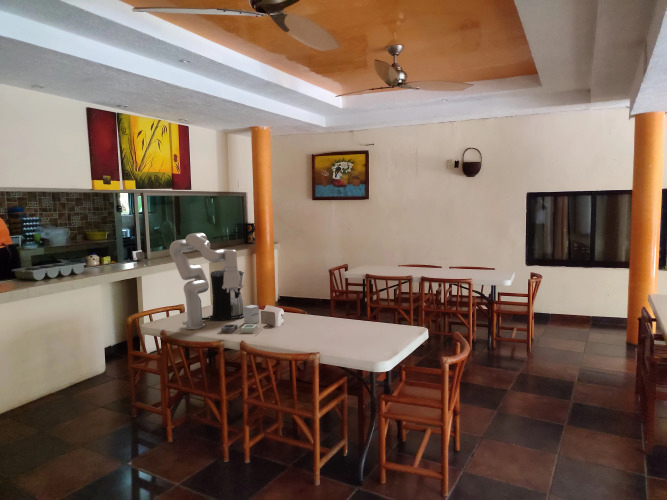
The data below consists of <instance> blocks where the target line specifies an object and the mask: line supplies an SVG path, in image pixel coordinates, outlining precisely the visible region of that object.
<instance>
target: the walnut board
mask: <svg viewBox="0 0 667 500" xmlns="http://www.w3.org/2000/svg"><path fill="white" fill-rule="evenodd" d="M241 328H242V327H238V324H236V323H235V324H231V323H230V324H227V323H226V324H224V325H223V326H221V328H220V331H218V332H217V333H216V334H217V335H257V334H258V333H259V332H260V331H261V330H262V327H257V330H256V331H255V332H254V333H241Z"/></svg>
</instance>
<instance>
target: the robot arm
mask: <svg viewBox="0 0 667 500" xmlns="http://www.w3.org/2000/svg"><path fill="white" fill-rule="evenodd" d="M194 250H197V251H198V252H200V254H201V256H202V257H203V259H205V260H206V261H209V262H211V263H219V262H224V267H223V268H222V270H225V272H224V284H223V286H222V288H223V289H225V290H226V291H227V293H228V297H229V299H230V288H235V289H236V293H235V295H236V299H237V298H238V297H239V291H240V292H241V289H243V288H245V287H244V285H243V282H242V283H241V279H240V274H239V271H240V270H238V257H237V255H238V254H237V250H236V249H227V248H222V249H215V250H213V249H211V243H210V241H209V240H208V237H207V235H206V234H205V233H203V232H195V233H189V234H187V235H186V236H185V239H177V240H174V241H173V242H171V244H170V246H169V254H170V257H171V258H172V260H173V261H174V263H175V266H176V269H177V271H178V273H179V276H180V278H181V279H182V280H183V281H187V282H186V283H185V284H184V285H183V292H184V296H185V302H186V303H185V304H186V315H187V317H186V318H187V321H185V320H183V321H182V323H181V324H182V325H185V329H186V330H189V329H195V330H200V328H201V329H204V328H205V326H206V324H205V323H204V322H203V321H204V320H202V318H203V311H202V309H203V308H202V300H201V297H200V296H199V294H203V293H206V292H208V291H209V289H210V286H209V281H208V279H207V277H206V274H205V271H204V269H203V268H202V267H201V265H199V264H190V260H189V259H188V256H186V255H185V254H184V253H187V252H193V251H194ZM189 280H190V281H189ZM239 286H240V287H239Z"/></svg>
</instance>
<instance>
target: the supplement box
mask: <svg viewBox="0 0 667 500" xmlns="http://www.w3.org/2000/svg"><path fill="white" fill-rule="evenodd" d="M243 307H244V317H243V320H244V321H243V323H244V324H257V323H260V310H259V305H254V304H250V305H246V306H243Z"/></svg>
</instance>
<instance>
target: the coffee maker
mask: <svg viewBox="0 0 667 500" xmlns="http://www.w3.org/2000/svg"><path fill="white" fill-rule="evenodd" d="M238 271H239V274H240V279H241V283H242V284H243V277H244V274H245V272H244V271H241V270H238ZM224 272H225V270H223V269H221V270H214V271H211V272H210V282H211V292H212V293H211V295H212V314H211V315H209V316H207V317H202V321H208V320H211V321H217V322H218V321H231V320H235V319H237V320H238V319H242V318H243V319H244V307H245V306H244V300H243V295H242V293H241V290H240V291H239V297H238V298H237V305H231V301H230V299H229V297H228V293H227V291H226V290H225V289H223V288H222V286H223V284H224ZM239 288H240V286H239ZM230 289H234V288H230Z"/></svg>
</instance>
